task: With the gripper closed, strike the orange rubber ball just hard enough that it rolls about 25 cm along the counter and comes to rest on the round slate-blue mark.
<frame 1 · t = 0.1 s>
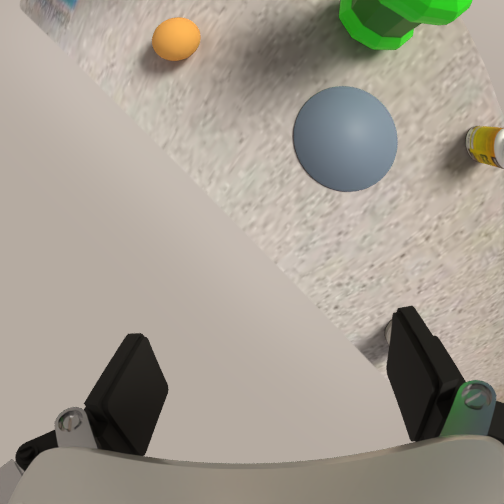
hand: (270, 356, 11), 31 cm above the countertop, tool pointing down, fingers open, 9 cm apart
supplement bottle: (476, 143, 34), on the countertop
ball: (176, 39, 30), on the countertop
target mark: (347, 138, 36), on the countertop
plastic bottle: (368, 25, 30), on the countertop
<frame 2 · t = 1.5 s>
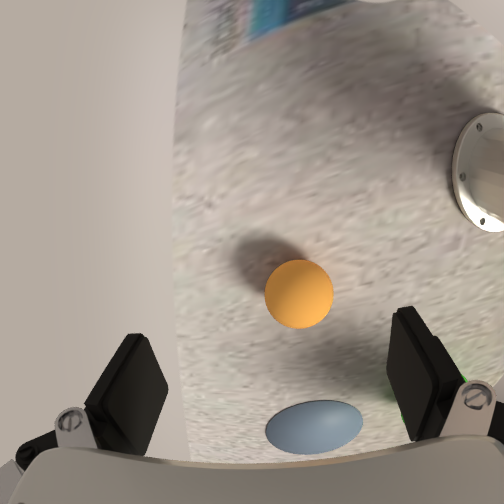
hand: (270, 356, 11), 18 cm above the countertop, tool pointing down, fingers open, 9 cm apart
ball: (299, 294, 27), on the countertop
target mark: (315, 430, 38), on the countertop
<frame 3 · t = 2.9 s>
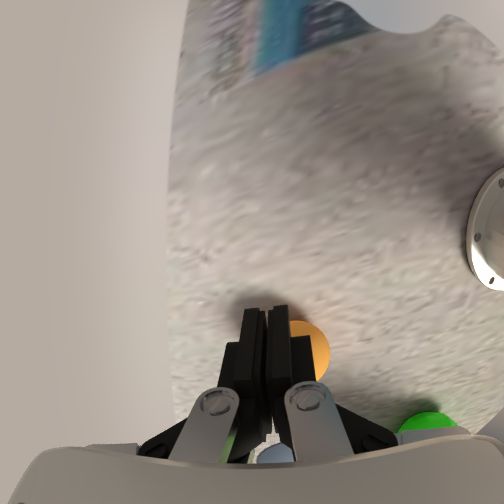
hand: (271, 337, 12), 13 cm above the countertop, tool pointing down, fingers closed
ball: (295, 355, 25), on the countertop
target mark: (305, 462, 37), on the countertop
plastic bottle: (417, 422, 33), on the countertop
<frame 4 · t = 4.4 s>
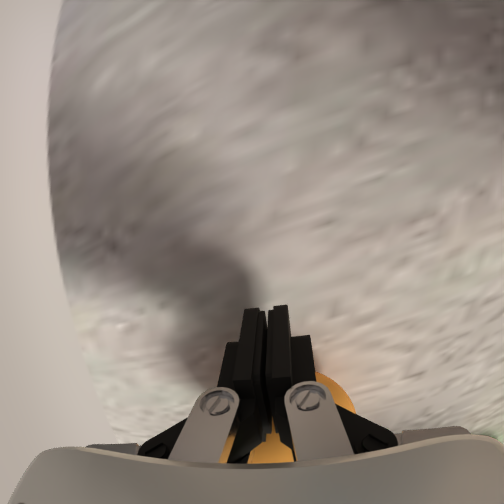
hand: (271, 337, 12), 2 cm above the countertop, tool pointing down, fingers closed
ball: (291, 430, 12), on the countertop
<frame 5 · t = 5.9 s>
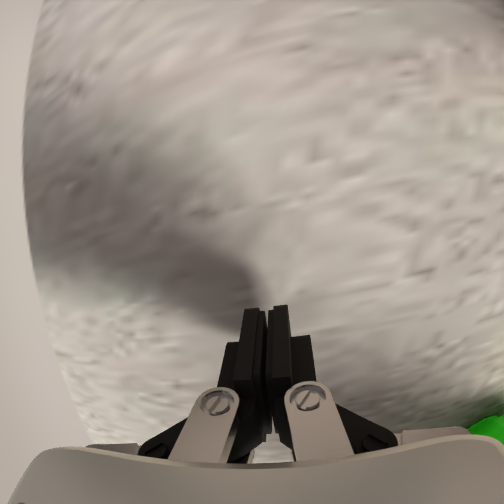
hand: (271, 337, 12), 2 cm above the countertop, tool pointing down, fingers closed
plastic bottle: (474, 433, 17), on the countertop
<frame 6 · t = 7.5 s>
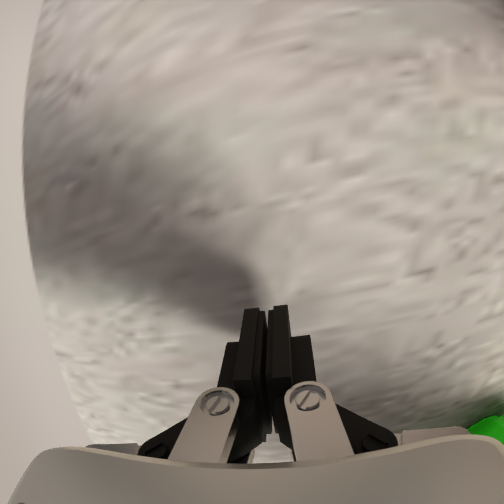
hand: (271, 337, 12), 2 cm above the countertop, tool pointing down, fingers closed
plastic bottle: (474, 433, 17), on the countertop
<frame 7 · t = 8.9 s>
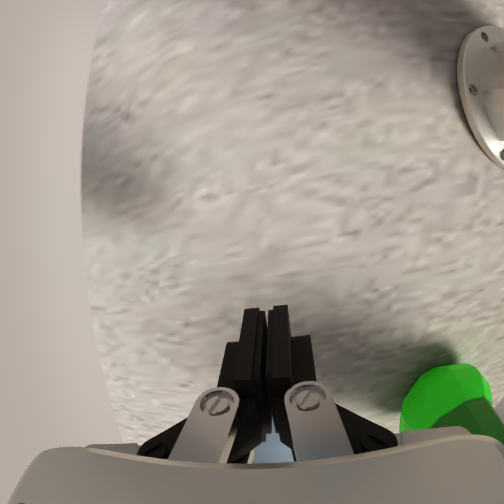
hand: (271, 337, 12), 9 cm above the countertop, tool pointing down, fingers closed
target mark: (283, 448, 28), on the countertop
plastic bottle: (431, 383, 25), on the countertop
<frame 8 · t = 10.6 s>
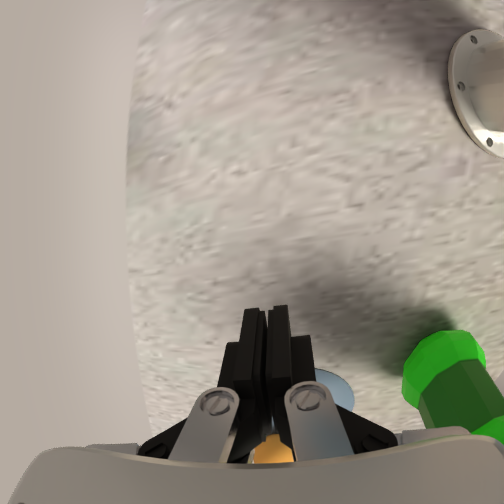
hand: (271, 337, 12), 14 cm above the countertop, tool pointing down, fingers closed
ball: (276, 455, 33), on the countertop
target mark: (295, 408, 33), on the countertop
plastic bottle: (430, 349, 29), on the countertop
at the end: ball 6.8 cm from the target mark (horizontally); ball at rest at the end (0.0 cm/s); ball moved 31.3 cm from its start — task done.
